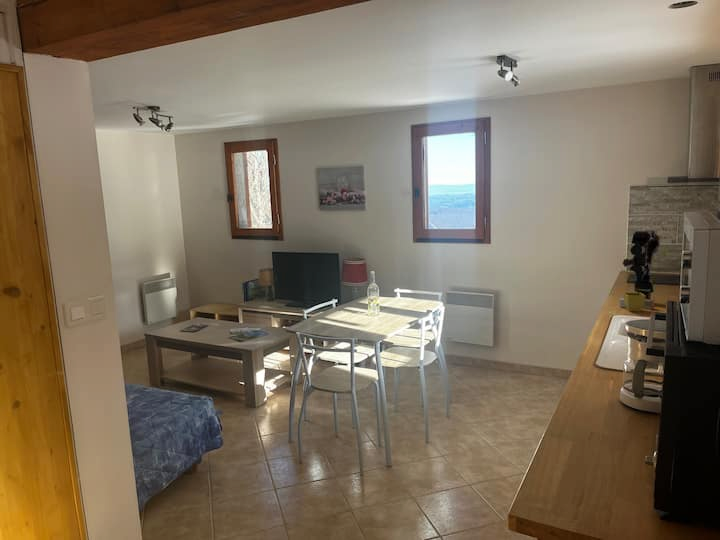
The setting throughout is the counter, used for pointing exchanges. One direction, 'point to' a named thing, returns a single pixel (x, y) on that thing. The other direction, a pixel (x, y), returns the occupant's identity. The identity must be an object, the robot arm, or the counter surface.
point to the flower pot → (634, 301)
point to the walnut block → (648, 304)
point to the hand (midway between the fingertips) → (639, 282)
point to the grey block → (622, 303)
